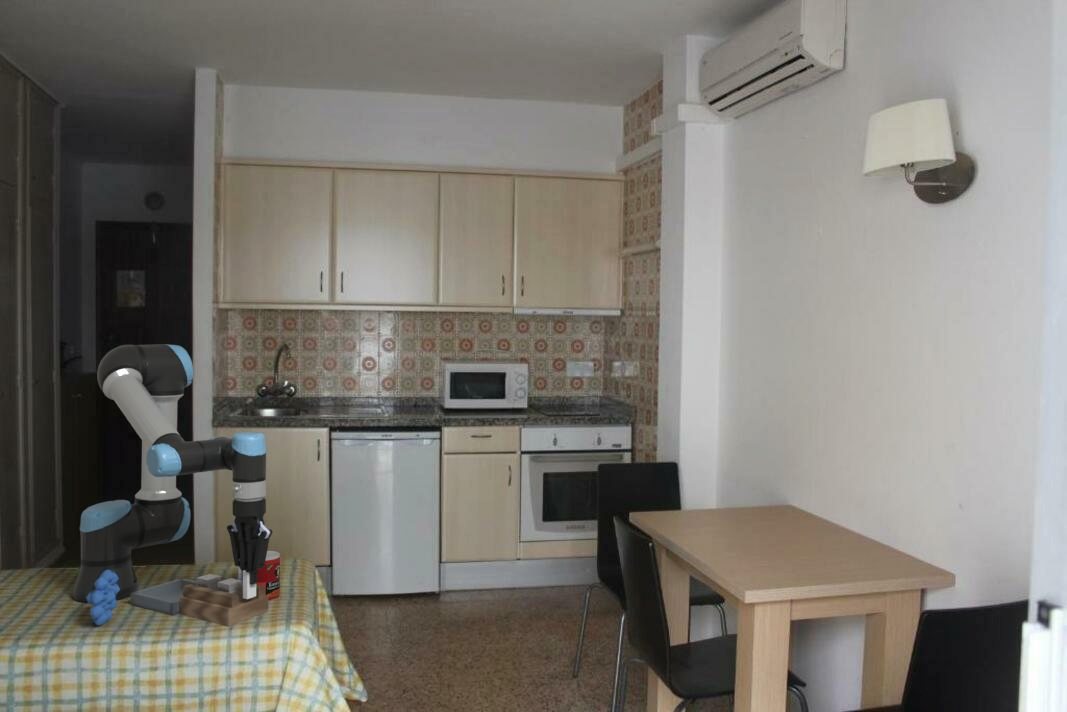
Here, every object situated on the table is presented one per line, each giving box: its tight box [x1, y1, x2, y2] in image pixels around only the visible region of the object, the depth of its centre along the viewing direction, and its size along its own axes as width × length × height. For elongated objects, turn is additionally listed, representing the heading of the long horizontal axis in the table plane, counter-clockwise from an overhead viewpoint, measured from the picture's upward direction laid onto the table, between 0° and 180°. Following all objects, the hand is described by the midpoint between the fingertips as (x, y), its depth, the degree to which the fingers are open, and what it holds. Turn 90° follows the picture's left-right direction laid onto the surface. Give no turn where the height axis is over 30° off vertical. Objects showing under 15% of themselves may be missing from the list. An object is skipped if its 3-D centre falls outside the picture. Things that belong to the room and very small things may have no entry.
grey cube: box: [217, 577, 242, 598], centre depth 204 cm, size 4×4×4 cm
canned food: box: [256, 550, 281, 601], centre depth 218 cm, size 8×8×11 cm
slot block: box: [179, 576, 269, 627], centre depth 205 cm, size 17×12×6 cm
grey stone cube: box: [195, 573, 222, 590], centre depth 208 cm, size 4×4×4 cm
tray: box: [130, 577, 196, 616], centre depth 214 cm, size 16×15×3 cm
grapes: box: [86, 570, 120, 626], centre depth 198 cm, size 12×7×12 cm, turn 4°
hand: (249, 597), depth 201 cm, fingers closed
